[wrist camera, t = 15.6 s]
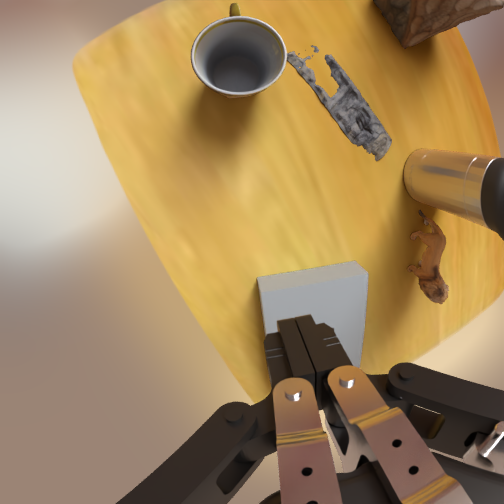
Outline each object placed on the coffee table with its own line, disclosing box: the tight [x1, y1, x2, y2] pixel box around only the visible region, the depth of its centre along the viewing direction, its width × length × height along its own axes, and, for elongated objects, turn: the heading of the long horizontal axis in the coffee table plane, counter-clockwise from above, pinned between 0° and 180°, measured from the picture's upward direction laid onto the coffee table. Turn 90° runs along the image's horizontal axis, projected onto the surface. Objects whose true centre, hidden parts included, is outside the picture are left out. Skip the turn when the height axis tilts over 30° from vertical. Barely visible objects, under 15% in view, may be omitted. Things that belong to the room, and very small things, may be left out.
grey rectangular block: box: [257, 261, 368, 368], centre depth 45 cm, size 16×22×5 cm
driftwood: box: [287, 45, 392, 161], centre depth 35 cm, size 21×7×2 cm, turn 38°
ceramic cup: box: [191, 3, 287, 98], centre depth 28 cm, size 13×10×10 cm
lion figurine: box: [407, 210, 449, 304], centre depth 40 cm, size 15×5×9 cm, turn 13°
